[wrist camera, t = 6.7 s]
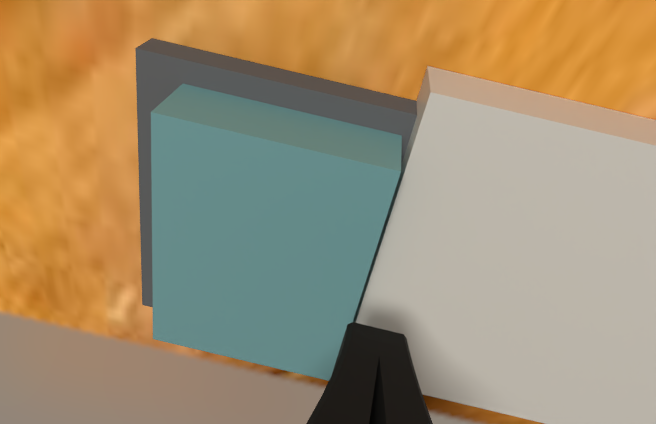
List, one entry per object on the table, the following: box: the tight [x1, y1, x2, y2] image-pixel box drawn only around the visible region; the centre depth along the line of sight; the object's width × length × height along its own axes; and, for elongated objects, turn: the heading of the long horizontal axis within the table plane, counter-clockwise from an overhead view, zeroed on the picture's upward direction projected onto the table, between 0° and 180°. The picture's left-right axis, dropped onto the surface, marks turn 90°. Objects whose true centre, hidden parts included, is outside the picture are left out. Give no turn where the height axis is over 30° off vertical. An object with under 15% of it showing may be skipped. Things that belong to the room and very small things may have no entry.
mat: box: [136, 38, 417, 307], centre depth 16 cm, size 8×10×1 cm
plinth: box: [353, 66, 656, 424], centre depth 15 cm, size 14×10×2 cm
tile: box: [151, 84, 402, 381], centre depth 15 cm, size 6×8×2 cm
